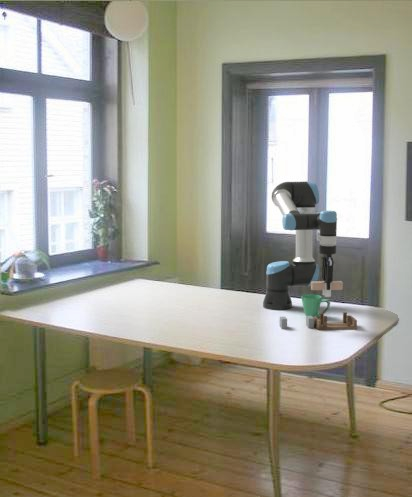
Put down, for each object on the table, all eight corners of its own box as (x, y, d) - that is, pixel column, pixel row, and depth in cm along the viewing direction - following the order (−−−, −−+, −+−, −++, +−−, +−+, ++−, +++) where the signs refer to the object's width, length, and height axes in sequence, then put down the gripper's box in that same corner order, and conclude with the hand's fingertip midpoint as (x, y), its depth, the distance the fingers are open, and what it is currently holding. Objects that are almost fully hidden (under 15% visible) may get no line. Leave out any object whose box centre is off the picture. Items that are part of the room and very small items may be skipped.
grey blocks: (279, 326, 334) (279, 316, 333) (311, 325, 336) (311, 315, 335) (281, 328, 329) (281, 319, 329) (313, 327, 331) (314, 318, 330)
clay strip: (310, 288, 330) (311, 281, 330) (341, 288, 331) (341, 281, 331) (312, 290, 327) (312, 282, 327) (342, 289, 328) (342, 282, 328)
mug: (297, 317, 351) (298, 297, 350) (306, 313, 359) (306, 293, 358) (325, 321, 343) (326, 300, 342) (333, 317, 352) (334, 297, 350)
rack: (313, 325, 336) (313, 312, 335) (351, 324, 337) (351, 311, 336) (318, 330, 327) (318, 317, 326) (356, 329, 328) (357, 316, 328)
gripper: (315, 242, 334) (314, 292, 337) (323, 247, 318) (322, 299, 321) (331, 242, 335) (330, 292, 338) (340, 247, 319) (339, 299, 322)
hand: (326, 295), depth 330 cm, fingers closed on clay strip, 3 cm apart
